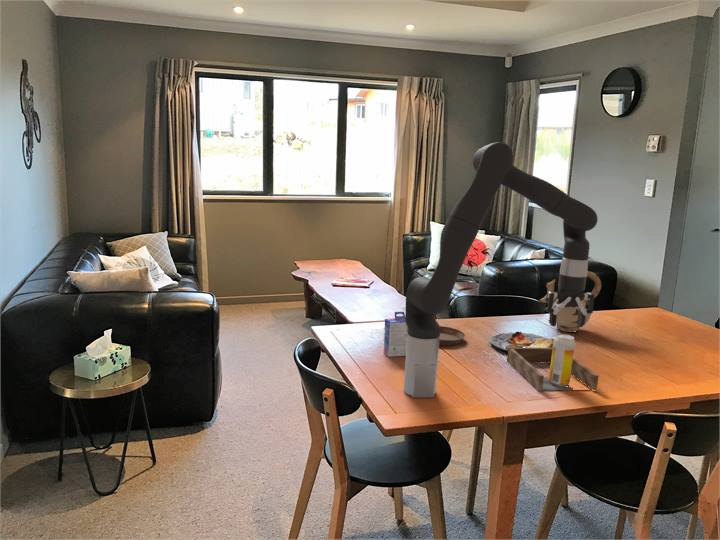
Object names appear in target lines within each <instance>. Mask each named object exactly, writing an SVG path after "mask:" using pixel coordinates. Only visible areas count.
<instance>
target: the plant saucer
mask: <svg viewBox="0 0 720 540" xmlns="http://www.w3.org/2000/svg"><path fill="white" fill-rule="evenodd" d="M439 326H440V341H439V346H445V347H446V346H454V345H455V346H456V345H457V344H460V343H461V342H462V341H463V340H464V338H465V337H466V334H465V333H464V331H461V330H459V329H456V328H453V327H449V326H442V325H439Z"/></svg>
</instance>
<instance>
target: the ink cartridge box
mask: <svg viewBox="0 0 720 540" xmlns="http://www.w3.org/2000/svg"><path fill="white" fill-rule="evenodd" d="M407 331H408V328H407V325H406V320H405V311H394V318H384V335H383V336H384V337H383V338H384V339H383V353H384V355H385V356H387V357H388V358H391V357H404V356H405V357H406V345H407Z"/></svg>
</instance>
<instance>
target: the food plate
mask: <svg viewBox="0 0 720 540" xmlns="http://www.w3.org/2000/svg"><path fill="white" fill-rule="evenodd" d="M488 342H489V343H490V344H492V345H493V346H495V347H497V348H498V349H500V350H504V351H505V352H508V347H511V348H523V347H525V348H553V342H554V338H547V337H544V336H543V335H542V336H541V335H537V334H534V333H533V334H532V333H525V332H522V331H515V332H502V333H499V334H496V335H494V336H492V337H489V339H488ZM527 345H530V346H527Z"/></svg>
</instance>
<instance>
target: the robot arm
mask: <svg viewBox="0 0 720 540" xmlns="http://www.w3.org/2000/svg"><path fill="white" fill-rule="evenodd" d="M513 163H514V153H513V150H512V148H511V147H510V146H509V144H507V143H505V142H502V141H497V142H492V143H489V144H487V145H484V146H483V147H480V148H479V149H478V150H477V151H476V152H475V153H474V154H473V157H472V166H473V169H474V171H475V172H476V173H475V175H474V178H473V180H472V182H471V184H470V185H469V187H468V189H467V190H466V191H464V193H463V195H462V196H461V197H460V198H459V200H458V201H457V203H455V205H454V207H453V208H452V210H451V211H450V213H449V215H448V216H447V219H446V222H445V223H444V226H443V228H442V229H441V232H440V239H439V258H438V262H437V265H436V268H435V270H434V272H433V273H432V276H431V278H428V277H426V276H418V277H416V278H414V279H413V280H411V282H409V284H408V286H407V289H406V295H405V312H404V314H405V320H406V325H407V328H408V331H407V345H406V356H405V362H404V363H405V364H404V376H403V377H404V378H403V379H404V380H403V392H404V393H405V394H407V395H409V396H411V397H412V399H413V398H415V399H416V398H424V399H425V398H434V397H435V394H436V393H437V392H436V390H437V378H438V377H437V376H438V366H439V365H438V363H439V354H440V353H439V350H440V345H439V341H440V326H441V325H440V324H439V322H438V321H437V320H436V317H435V315H438V314H440V313H441V312H443V310H445V308H446V306H447V304H448V303H449V301H450V298H451V295H452V293H453V290H454V287H455V284H456V281H457V278H458V276H459V273H460V271H461V269H462V267H463V264H464V262H465V260H466V259H467V255H468V253H469V251H470V249H471V247H472V245H473V243H474V241H475V240H476V237H477V235H478V233H479V231H480V229H481V226H482V224H483V221H484V219H485V217H486V215H487V213H488V210H489V209H490V206H491V204H492V202H493V200H494V198H495V195H496V193H497V191H498V190H499V188H500V186H504V187H506V188H508V189H509V190H512V191H513V192H515V193H517V194H518V195H520V196H522V197H524V198H525V199H527V200H529V201H530V202H532V203H534V204H535V205H537V206H538V207H540V208H541V209H542V210H544V211H545V212H547V213H549V214H551V215H553V216H556V217H559V218H561V219H562V220H563V222H562V225H563V227H562V228H563V238H564V246H563V251H562V258H561V262H560V263H561V264H560V269H559V277H558V283H557V289H558V290H557V291H556V292H555V291H554V292H555V293H554V292H550V291H548V290H547V292H546V294H547V296H546V295H545V296H546V301H545V303H544V307H543V310H544V311H546V312H547V313H549V312H550V315H549V319H548V323H549V324H550V326H552V327H556V326H557V323H556V320H557V315H556V314H557V313H558V312H559V310H561V309H562V308H563V307H574V308H575V307H576V308H577V309H578V311H579V312H580V314H578V321H577V326H579V328H583V327H584V326H585V325H586V324H585V317H586V315H587V314H589V313H591V314H593V312H594V302H595V298H594V295H593V294H592V293H591V292H590V291H589V292H588V291H587V292H585V289H586V282H587V278H588V277H587V271H588V267H589V266H588V265H589V263H588V261H589V254H590V242H589V240H588V239H587V237H586V232H588V231H591V230H593V229H594V228H595V227H596V225H597V224H598V219H599V218H598V215H597V212H596V211H595V210H594V209H593V208H592V207H590V206H589V205H587V204H586V203H584V202H582V201H579V200H577V199H576V198H574V197H572V196H570V195H569V194H567V193H565V191H563V190H561V189H560V188H559V187H557V186H555V185H553V184H551V182H548V181H547V180H544V179H542V178H540V177H537V176H534V175H533V174H530V173H527V172H525V171H523V170H522V169H520V168H518V167H516V166H515V165H513ZM555 297H557V298H558V300H557V301H556V302H555V303H554V306H553V307H552V305H553V300H554V299H555ZM584 297H585V300H586V304H585V309H584V306H583V304H582V302H581V301H582V300H583V299H584ZM559 304H560V305H559ZM584 324H585V325H584ZM583 325H584V326H583Z"/></svg>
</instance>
